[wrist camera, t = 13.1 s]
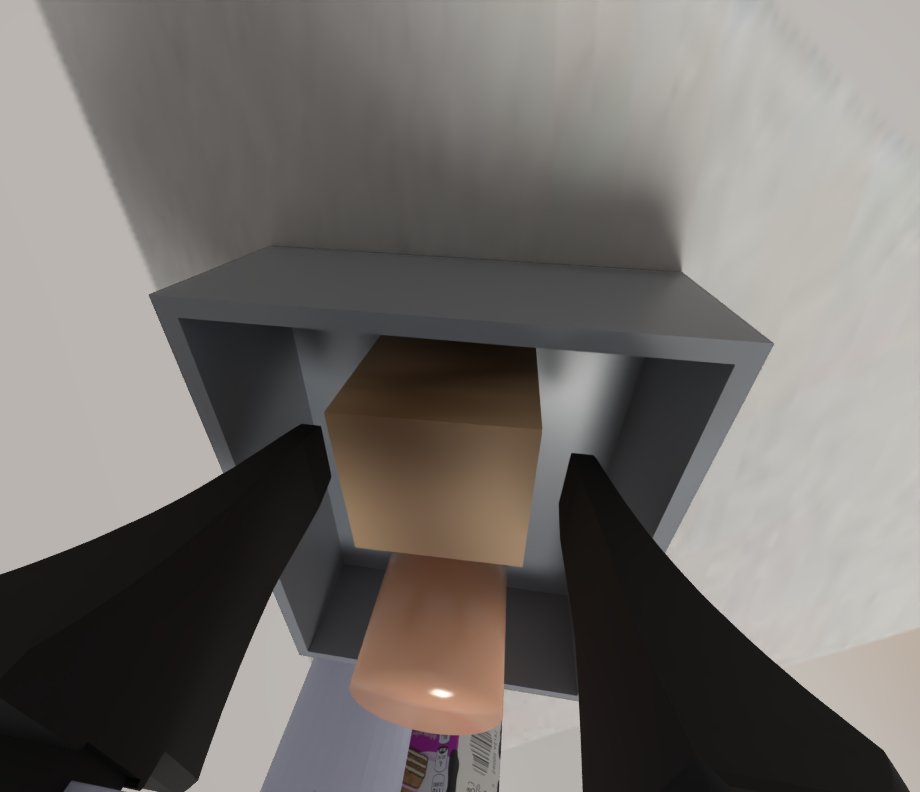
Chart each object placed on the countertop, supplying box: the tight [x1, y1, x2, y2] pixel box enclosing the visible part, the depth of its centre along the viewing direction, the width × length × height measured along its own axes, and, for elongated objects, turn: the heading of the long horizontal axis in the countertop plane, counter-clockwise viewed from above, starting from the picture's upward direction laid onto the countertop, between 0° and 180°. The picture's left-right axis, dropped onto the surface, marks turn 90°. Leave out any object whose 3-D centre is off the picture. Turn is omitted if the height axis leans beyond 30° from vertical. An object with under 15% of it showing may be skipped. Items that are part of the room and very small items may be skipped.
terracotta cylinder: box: [349, 552, 507, 735], centre depth 15 cm, size 5×5×7 cm
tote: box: [149, 246, 774, 701], centre depth 15 cm, size 17×13×5 cm
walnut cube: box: [324, 335, 543, 567], centre depth 12 cm, size 5×5×5 cm
